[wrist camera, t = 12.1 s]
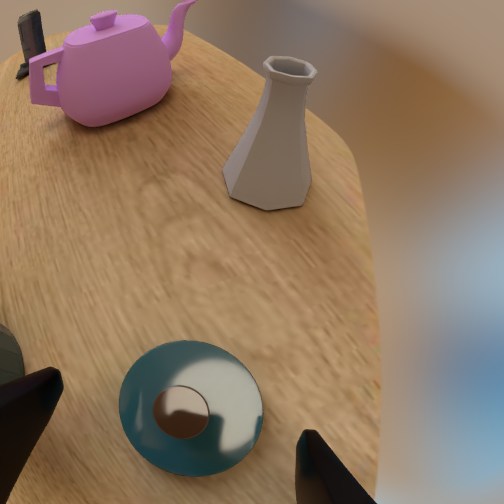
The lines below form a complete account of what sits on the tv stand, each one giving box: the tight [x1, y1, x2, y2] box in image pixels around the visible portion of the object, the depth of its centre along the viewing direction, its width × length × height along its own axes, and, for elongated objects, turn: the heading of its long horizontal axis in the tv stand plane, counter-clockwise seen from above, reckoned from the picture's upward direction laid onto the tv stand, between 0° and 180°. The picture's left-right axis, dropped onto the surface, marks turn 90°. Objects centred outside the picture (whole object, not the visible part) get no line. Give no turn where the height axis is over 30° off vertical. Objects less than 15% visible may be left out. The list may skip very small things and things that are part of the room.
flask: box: [222, 56, 317, 211], centre depth 19 cm, size 7×7×10 cm
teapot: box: [29, 0, 197, 127], centre depth 23 cm, size 13×20×11 cm
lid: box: [119, 340, 263, 477], centre depth 12 cm, size 8×8×5 cm
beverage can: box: [16, 10, 50, 79], centre depth 28 cm, size 9×8×12 cm
